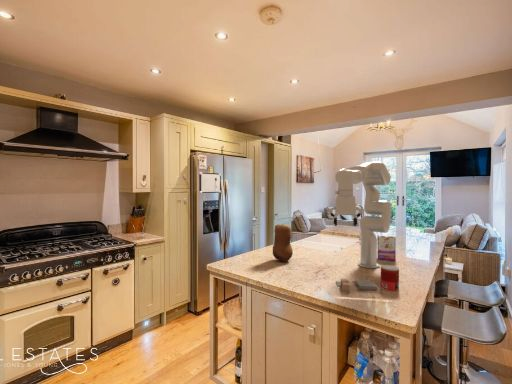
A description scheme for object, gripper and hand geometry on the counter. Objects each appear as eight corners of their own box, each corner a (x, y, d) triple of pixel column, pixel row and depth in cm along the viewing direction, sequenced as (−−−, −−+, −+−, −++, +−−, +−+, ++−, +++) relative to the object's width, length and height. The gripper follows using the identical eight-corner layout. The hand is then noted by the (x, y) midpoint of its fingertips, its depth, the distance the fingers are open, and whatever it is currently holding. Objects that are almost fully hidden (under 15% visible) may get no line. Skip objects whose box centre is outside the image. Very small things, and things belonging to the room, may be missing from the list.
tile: (355, 279, 138) (359, 285, 129) (372, 280, 137) (377, 286, 128) (355, 282, 138) (359, 289, 129) (372, 283, 137) (377, 290, 128)
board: (351, 282, 141) (351, 280, 141) (373, 283, 139) (373, 282, 139) (357, 293, 126) (357, 291, 126) (382, 295, 124) (382, 293, 124)
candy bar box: (394, 259, 187) (394, 235, 187) (395, 261, 182) (396, 237, 182) (376, 257, 190) (377, 234, 190) (377, 259, 186) (378, 236, 185)
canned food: (399, 293, 126) (400, 270, 126) (381, 291, 129) (381, 268, 129) (397, 287, 133) (398, 265, 133) (380, 285, 136) (380, 264, 136)
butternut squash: (295, 259, 184) (295, 223, 184) (289, 264, 172) (289, 225, 171) (276, 257, 190) (276, 222, 189) (269, 262, 178) (269, 224, 177)
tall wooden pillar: (335, 282, 139) (335, 274, 139) (347, 283, 138) (348, 275, 138) (339, 292, 125) (339, 284, 125) (353, 293, 124) (353, 285, 124)
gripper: (329, 193, 139) (329, 226, 140) (364, 193, 136) (364, 227, 137) (327, 193, 147) (327, 224, 147) (360, 193, 144) (360, 224, 144)
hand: (345, 225), depth 142 cm, fingers open, 9 cm apart
